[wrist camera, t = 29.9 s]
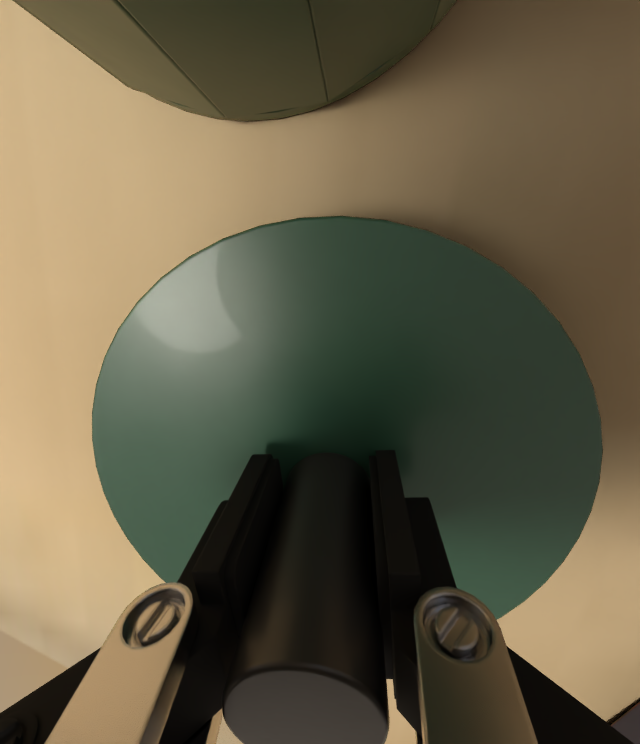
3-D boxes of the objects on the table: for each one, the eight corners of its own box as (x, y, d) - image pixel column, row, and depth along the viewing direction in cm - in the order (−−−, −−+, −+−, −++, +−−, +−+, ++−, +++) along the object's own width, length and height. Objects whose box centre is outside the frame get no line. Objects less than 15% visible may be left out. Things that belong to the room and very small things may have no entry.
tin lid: (174, 618, 15) (39, 889, 8) (53, 252, 10) (-472, 244, 4) (546, 629, 13) (731, 989, 7) (618, 185, 8) (1563, -69, 2)
